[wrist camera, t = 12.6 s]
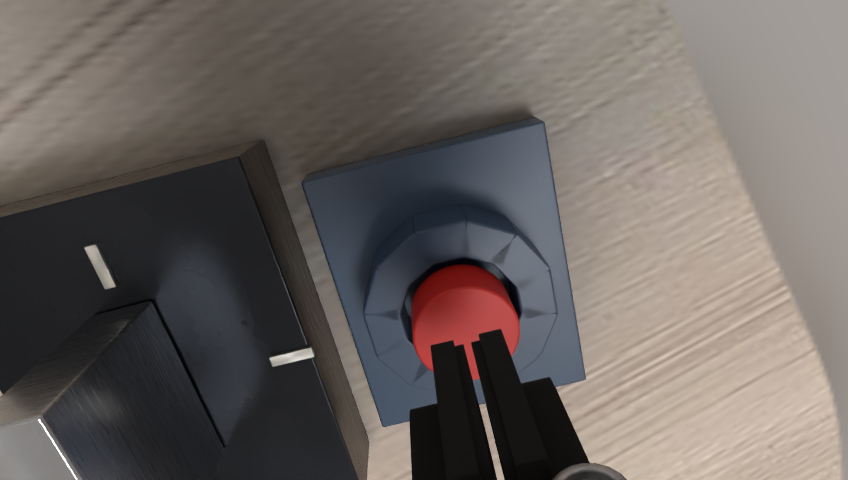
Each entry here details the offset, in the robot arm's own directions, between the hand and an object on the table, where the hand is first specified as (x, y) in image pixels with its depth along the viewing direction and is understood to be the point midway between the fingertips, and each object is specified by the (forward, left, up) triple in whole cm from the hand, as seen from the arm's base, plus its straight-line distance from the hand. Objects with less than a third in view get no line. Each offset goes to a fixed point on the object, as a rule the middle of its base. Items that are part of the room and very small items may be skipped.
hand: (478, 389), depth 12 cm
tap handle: (+1, -10, -5) cm, 11 cm away
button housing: (+1, 0, -8) cm, 8 cm away
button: (+1, 0, -5) cm, 5 cm away
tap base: (+1, -10, -8) cm, 13 cm away
